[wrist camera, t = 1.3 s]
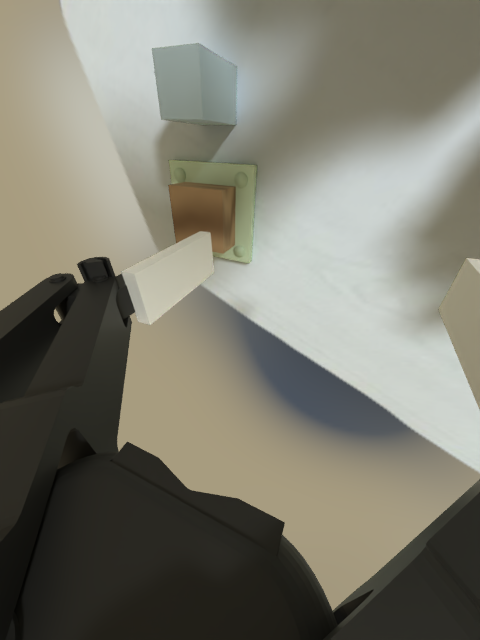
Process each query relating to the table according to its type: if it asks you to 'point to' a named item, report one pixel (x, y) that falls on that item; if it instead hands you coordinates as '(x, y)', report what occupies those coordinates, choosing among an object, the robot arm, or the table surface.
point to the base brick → (204, 212)
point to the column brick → (195, 85)
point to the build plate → (245, 197)
